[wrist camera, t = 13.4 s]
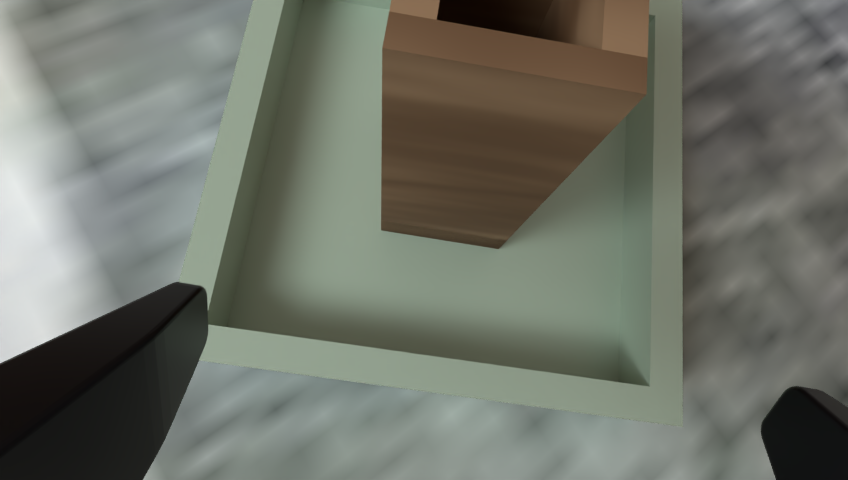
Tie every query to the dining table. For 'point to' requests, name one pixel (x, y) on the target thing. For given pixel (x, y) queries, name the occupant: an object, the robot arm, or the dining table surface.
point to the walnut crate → (499, 106)
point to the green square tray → (431, 258)
